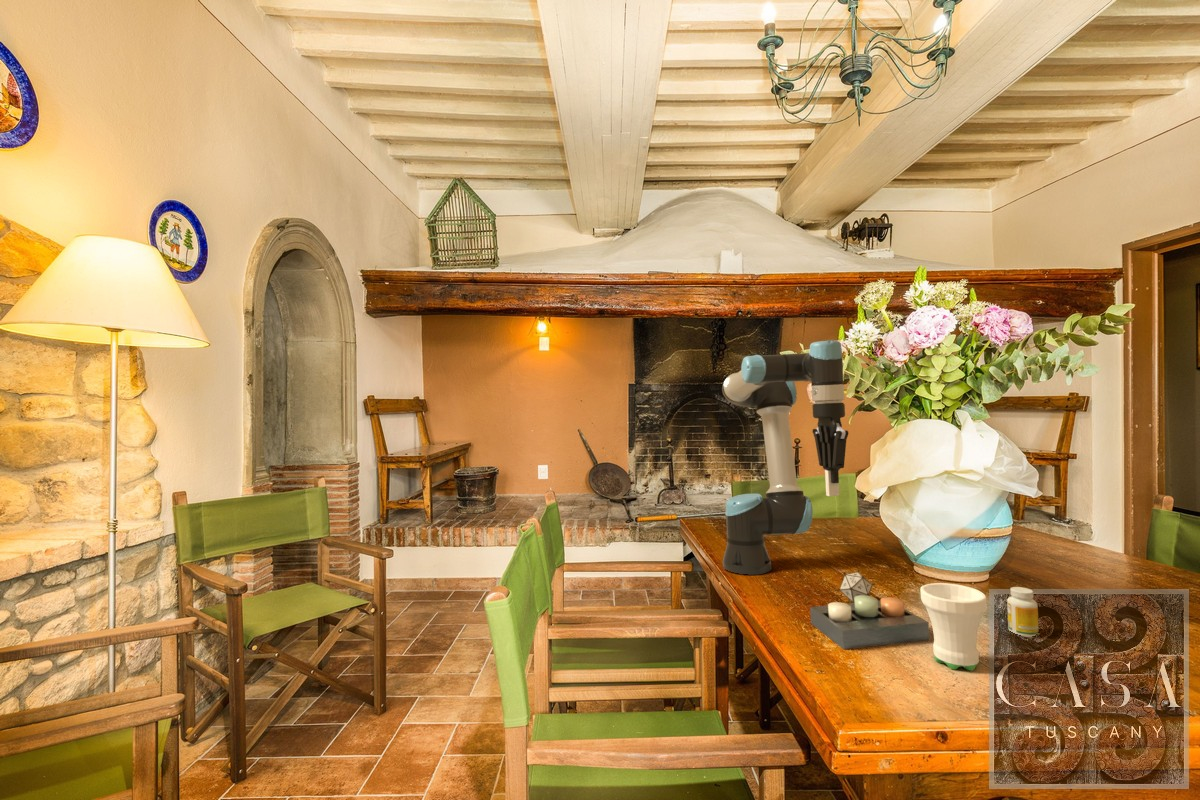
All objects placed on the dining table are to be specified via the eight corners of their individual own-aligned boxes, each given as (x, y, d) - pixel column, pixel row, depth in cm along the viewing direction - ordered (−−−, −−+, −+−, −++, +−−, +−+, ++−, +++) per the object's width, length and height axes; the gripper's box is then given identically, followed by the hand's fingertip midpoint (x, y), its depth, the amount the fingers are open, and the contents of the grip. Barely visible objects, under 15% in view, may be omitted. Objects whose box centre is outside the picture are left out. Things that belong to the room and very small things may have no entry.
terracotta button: (876, 611, 128) (876, 598, 128) (895, 610, 128) (895, 596, 128) (890, 619, 123) (889, 605, 123) (909, 617, 124) (908, 603, 124)
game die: (865, 618, 141) (882, 595, 135) (832, 605, 143) (847, 582, 137) (863, 591, 148) (879, 568, 143) (831, 579, 150) (846, 556, 144)
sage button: (850, 610, 127) (850, 596, 127) (869, 608, 128) (869, 594, 128) (863, 617, 122) (862, 603, 122) (882, 615, 123) (882, 601, 123)
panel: (811, 623, 131) (810, 607, 131) (888, 616, 133) (887, 599, 133) (843, 649, 117) (842, 630, 117) (929, 640, 119) (928, 622, 119)
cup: (959, 681, 102) (955, 605, 102) (910, 655, 113) (907, 587, 113) (1004, 670, 105) (1000, 597, 105) (952, 646, 116) (949, 579, 116)
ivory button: (824, 617, 126) (824, 603, 126) (844, 615, 127) (843, 601, 127) (836, 625, 121) (835, 610, 121) (856, 623, 122) (855, 609, 122)
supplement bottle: (1002, 630, 123) (1000, 587, 123) (1020, 626, 124) (1018, 584, 124) (1026, 639, 117) (1024, 595, 117) (1045, 635, 119) (1043, 592, 119)
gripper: (801, 403, 143) (805, 492, 143) (828, 402, 130) (832, 501, 130) (828, 401, 144) (832, 490, 144) (857, 401, 131) (862, 498, 131)
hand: (832, 495), depth 137 cm, fingers closed
